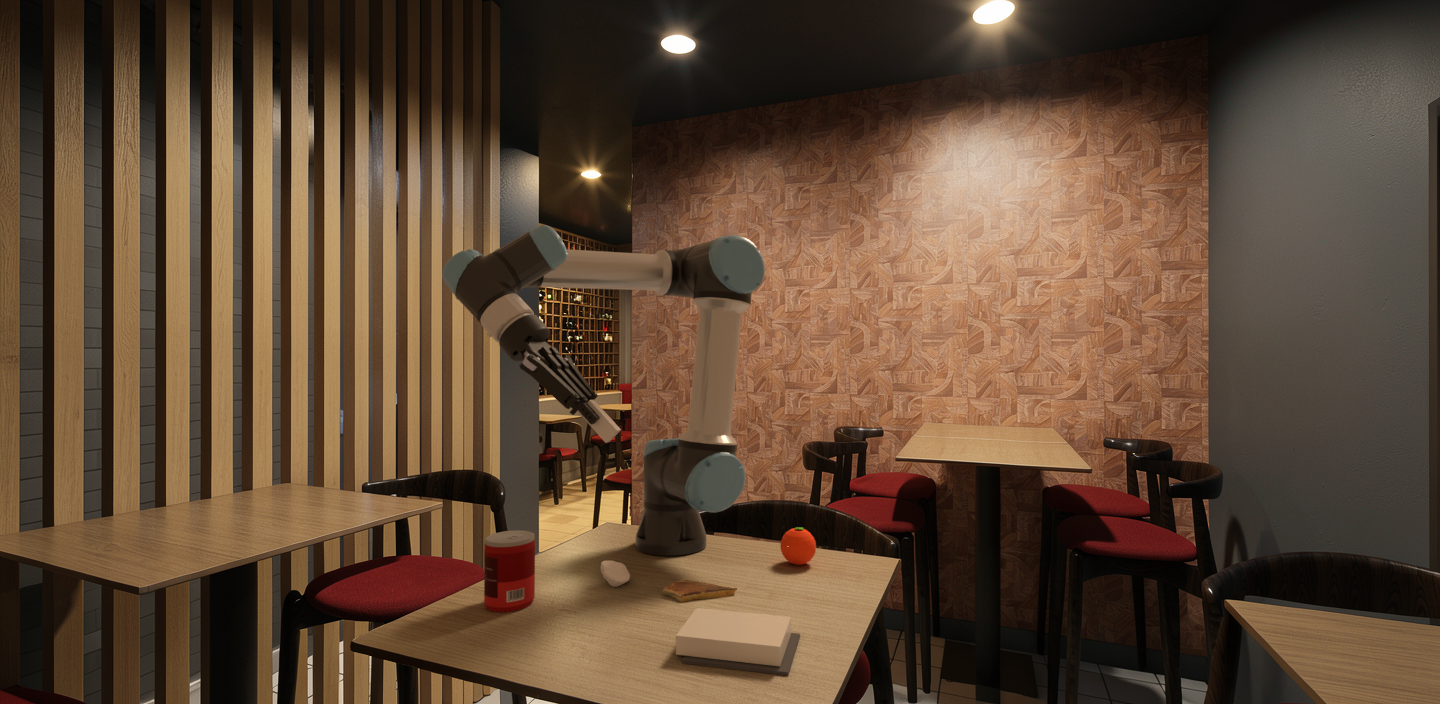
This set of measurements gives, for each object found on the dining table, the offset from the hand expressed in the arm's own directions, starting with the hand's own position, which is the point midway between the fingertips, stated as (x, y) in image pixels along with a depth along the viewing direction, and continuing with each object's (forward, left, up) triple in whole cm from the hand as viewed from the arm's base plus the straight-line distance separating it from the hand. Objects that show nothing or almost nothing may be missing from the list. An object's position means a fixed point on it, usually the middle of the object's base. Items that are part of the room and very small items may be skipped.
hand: (613, 436), depth 100 cm
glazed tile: (+5, +13, -26) cm, 30 cm away
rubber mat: (+5, +22, -28) cm, 36 cm away
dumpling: (-15, -6, -28) cm, 33 cm away
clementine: (-35, +24, -28) cm, 51 cm away
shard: (-15, +9, -29) cm, 34 cm away
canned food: (-2, -19, -28) cm, 34 cm away
